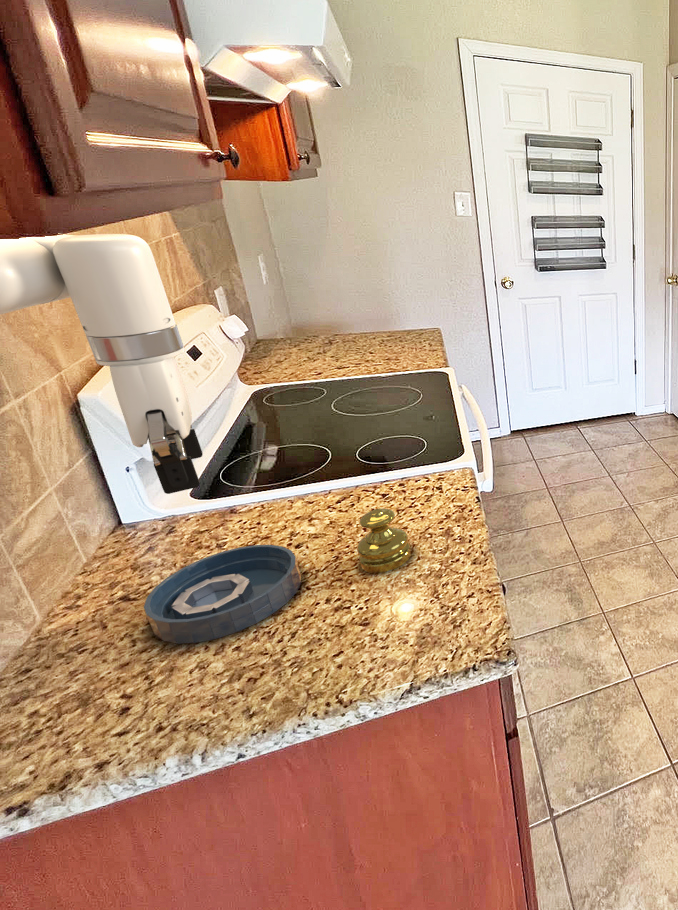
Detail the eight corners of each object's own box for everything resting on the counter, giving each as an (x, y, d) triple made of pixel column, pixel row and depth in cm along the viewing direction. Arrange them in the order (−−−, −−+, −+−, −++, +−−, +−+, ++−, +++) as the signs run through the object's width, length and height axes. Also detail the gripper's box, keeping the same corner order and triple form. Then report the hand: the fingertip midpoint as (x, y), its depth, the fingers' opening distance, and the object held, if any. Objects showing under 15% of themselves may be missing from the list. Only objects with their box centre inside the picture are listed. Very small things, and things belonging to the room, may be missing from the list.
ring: (165, 628, 80) (161, 618, 79) (193, 590, 87) (190, 580, 87) (237, 615, 82) (234, 605, 82) (259, 579, 90) (256, 569, 89)
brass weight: (372, 583, 91) (359, 530, 87) (354, 563, 95) (342, 512, 92) (419, 561, 96) (409, 511, 92) (401, 543, 101) (390, 494, 97)
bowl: (127, 661, 75) (115, 634, 74) (189, 579, 91) (181, 556, 89) (281, 631, 81) (272, 606, 79) (316, 559, 96) (309, 536, 94)
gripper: (104, 333, 70) (152, 456, 76) (77, 369, 58) (136, 513, 64) (185, 325, 75) (224, 442, 81) (176, 357, 62) (222, 492, 68)
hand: (185, 473), depth 72 cm, fingers open, 9 cm apart
